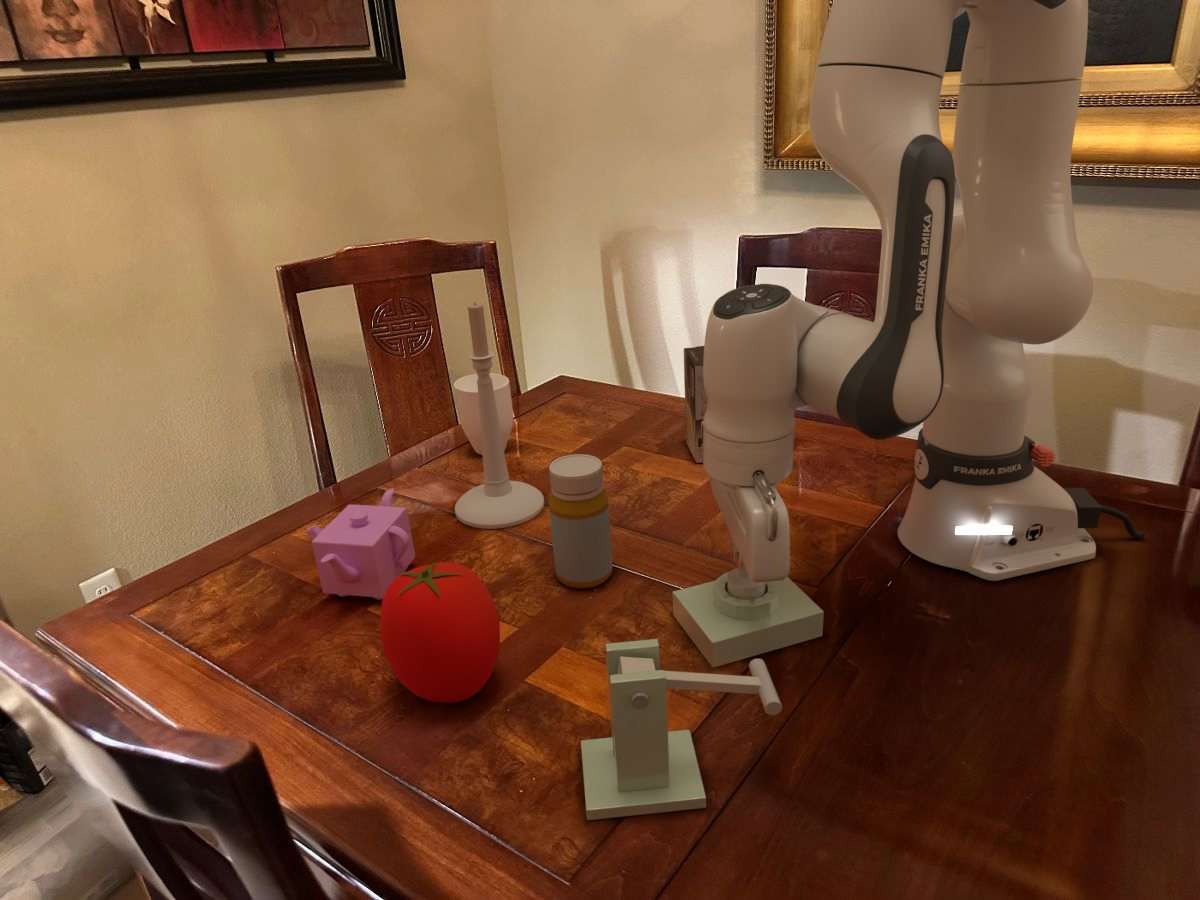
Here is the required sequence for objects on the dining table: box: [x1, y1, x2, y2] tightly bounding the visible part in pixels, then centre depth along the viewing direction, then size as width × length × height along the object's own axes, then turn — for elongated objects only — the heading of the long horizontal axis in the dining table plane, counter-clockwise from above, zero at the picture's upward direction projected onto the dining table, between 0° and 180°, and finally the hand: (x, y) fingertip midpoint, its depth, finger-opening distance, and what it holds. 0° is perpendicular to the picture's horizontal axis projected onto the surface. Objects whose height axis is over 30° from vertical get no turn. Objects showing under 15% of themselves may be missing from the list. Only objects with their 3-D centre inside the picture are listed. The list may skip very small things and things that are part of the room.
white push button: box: [727, 567, 765, 600], centre depth 90 cm, size 4×4×2 cm
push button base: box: [672, 571, 825, 668], centre depth 91 cm, size 13×10×5 cm
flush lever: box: [617, 656, 783, 716], centre depth 70 cm, size 13×6×2 cm, turn 94°
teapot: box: [304, 487, 416, 600], centre depth 103 cm, size 18×13×10 cm
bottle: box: [548, 453, 613, 590], centre depth 100 cm, size 7×7×15 cm
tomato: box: [379, 561, 501, 704], centre depth 83 cm, size 13×11×14 cm
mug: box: [453, 372, 514, 456], centre depth 138 cm, size 12×9×12 cm
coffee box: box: [683, 345, 707, 464], centre depth 131 cm, size 9×6×16 cm
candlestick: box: [454, 301, 545, 530], centre depth 115 cm, size 13×13×30 cm
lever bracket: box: [580, 638, 707, 821], centre depth 71 cm, size 10×8×13 cm
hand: (744, 570), depth 89 cm, fingers closed
